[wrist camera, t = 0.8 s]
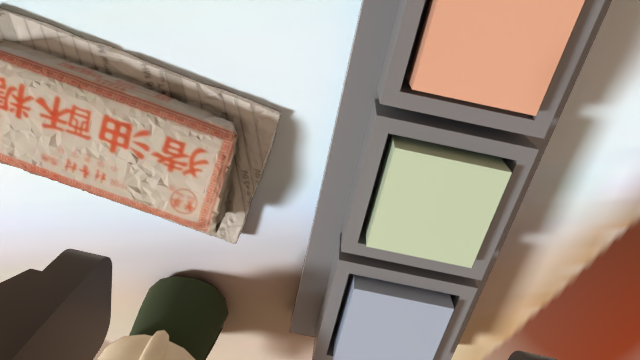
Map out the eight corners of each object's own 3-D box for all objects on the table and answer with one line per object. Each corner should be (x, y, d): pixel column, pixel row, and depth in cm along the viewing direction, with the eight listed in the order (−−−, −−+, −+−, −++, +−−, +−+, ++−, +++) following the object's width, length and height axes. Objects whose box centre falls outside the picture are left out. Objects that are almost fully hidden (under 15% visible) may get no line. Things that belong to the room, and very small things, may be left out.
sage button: (392, 134, 24) (395, 147, 23) (500, 157, 25) (511, 172, 23) (365, 227, 27) (366, 246, 25) (463, 248, 27) (471, 268, 25)
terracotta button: (444, -51, 21) (452, -52, 19) (572, -22, 21) (593, -21, 19) (407, 79, 23) (412, 89, 21) (522, 104, 23) (536, 116, 21)
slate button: (354, 267, 28) (354, 288, 27) (448, 287, 28) (454, 309, 27) (334, 338, 31) (332, 361, 29) (420, 355, 31) (424, 379, 29)
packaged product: (-65, 176, 27) (-68, 8, 23) (-7, 146, 31) (0, 1, 27) (224, 274, 29) (272, 134, 24) (242, 233, 33) (285, 108, 29)
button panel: (385, -105, 23) (392, -121, 19) (614, -54, 23) (676, -58, 19) (292, 313, 35) (283, 364, 31) (444, 343, 35) (457, 399, 31)
